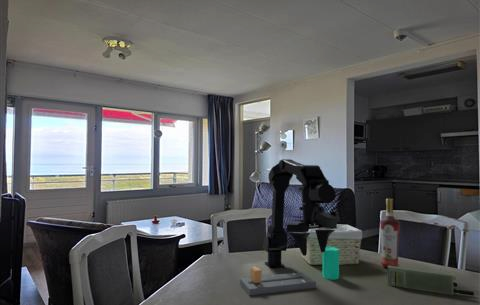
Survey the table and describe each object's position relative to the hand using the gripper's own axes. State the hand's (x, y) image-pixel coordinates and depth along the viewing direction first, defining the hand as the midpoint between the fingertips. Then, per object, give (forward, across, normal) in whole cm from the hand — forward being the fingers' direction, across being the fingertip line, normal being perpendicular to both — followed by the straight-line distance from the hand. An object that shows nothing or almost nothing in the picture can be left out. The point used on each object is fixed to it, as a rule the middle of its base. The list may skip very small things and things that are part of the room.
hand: (314, 253), depth 100 cm
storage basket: (+10, +38, +22) cm, 45 cm away
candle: (+12, +21, +10) cm, 26 cm away
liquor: (+11, +50, +1) cm, 51 cm away
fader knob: (+10, -9, +18) cm, 22 cm away
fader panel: (+12, -1, +15) cm, 20 cm away
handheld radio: (+14, +37, -18) cm, 43 cm away
